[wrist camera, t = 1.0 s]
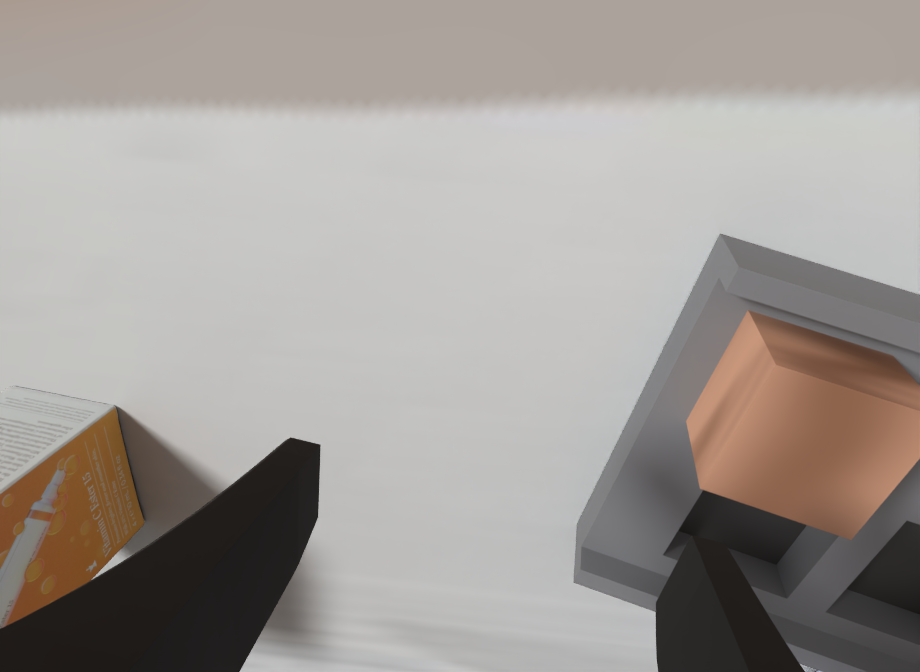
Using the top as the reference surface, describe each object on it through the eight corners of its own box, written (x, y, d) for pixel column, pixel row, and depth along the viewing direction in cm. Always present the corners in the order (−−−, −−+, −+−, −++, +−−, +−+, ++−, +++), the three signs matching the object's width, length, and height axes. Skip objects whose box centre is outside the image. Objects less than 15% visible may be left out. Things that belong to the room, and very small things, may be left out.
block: (893, 355, 18) (951, 421, 15) (814, 463, 20) (851, 540, 17) (747, 309, 18) (776, 364, 15) (685, 421, 21) (699, 488, 18)
